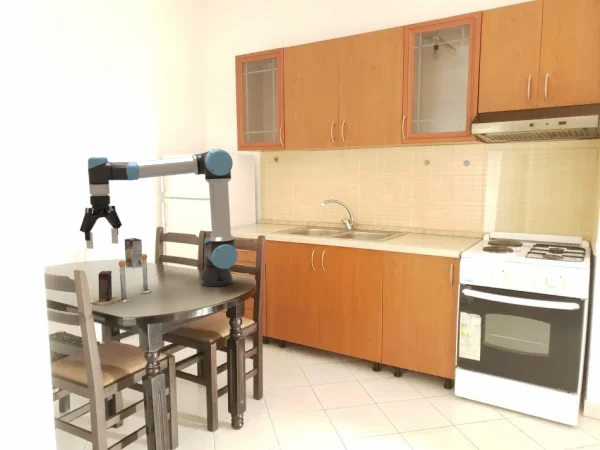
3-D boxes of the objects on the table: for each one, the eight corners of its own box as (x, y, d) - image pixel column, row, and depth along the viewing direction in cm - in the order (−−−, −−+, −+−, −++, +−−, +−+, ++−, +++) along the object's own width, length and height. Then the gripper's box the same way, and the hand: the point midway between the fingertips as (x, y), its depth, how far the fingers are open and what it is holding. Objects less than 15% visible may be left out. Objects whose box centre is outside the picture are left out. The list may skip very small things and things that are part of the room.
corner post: (132, 300, 188) (130, 259, 186) (124, 303, 184) (122, 262, 182) (123, 299, 190) (121, 259, 188) (115, 302, 185) (112, 261, 183)
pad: (122, 299, 188) (122, 297, 188) (104, 305, 179) (104, 304, 179) (106, 297, 191) (106, 295, 191) (88, 303, 182) (87, 302, 182)
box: (110, 301, 183) (108, 273, 181) (98, 302, 182) (97, 273, 180) (113, 297, 189) (111, 270, 187) (101, 298, 188) (100, 270, 186)
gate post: (153, 291, 201) (152, 253, 199) (146, 293, 196) (144, 255, 194) (145, 290, 203) (143, 252, 201) (137, 292, 198) (135, 254, 196)
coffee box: (125, 265, 258) (123, 239, 256) (135, 264, 263) (134, 237, 261) (132, 268, 252) (131, 240, 250) (143, 266, 257) (142, 239, 255)
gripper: (115, 193, 193) (117, 241, 195) (67, 196, 170) (71, 250, 172) (128, 193, 190) (131, 241, 193) (82, 196, 167) (85, 251, 169)
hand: (103, 245), depth 182 cm, fingers open, 13 cm apart
